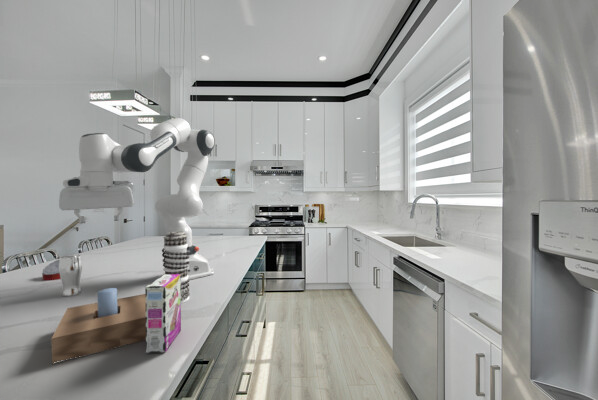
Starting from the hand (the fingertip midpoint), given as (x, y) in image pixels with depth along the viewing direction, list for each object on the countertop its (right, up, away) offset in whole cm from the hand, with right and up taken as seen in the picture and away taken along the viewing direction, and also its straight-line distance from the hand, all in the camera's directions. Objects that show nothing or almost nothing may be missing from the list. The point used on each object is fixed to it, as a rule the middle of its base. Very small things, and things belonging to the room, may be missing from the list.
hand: (100, 221), depth 92 cm
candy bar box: (+33, -30, -21) cm, 49 cm away
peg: (+14, -30, -16) cm, 37 cm away
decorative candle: (+23, -30, +7) cm, 38 cm away
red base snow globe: (-49, -30, +37) cm, 68 cm away
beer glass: (-22, -30, +15) cm, 40 cm away
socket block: (+14, -30, -16) cm, 37 cm away
